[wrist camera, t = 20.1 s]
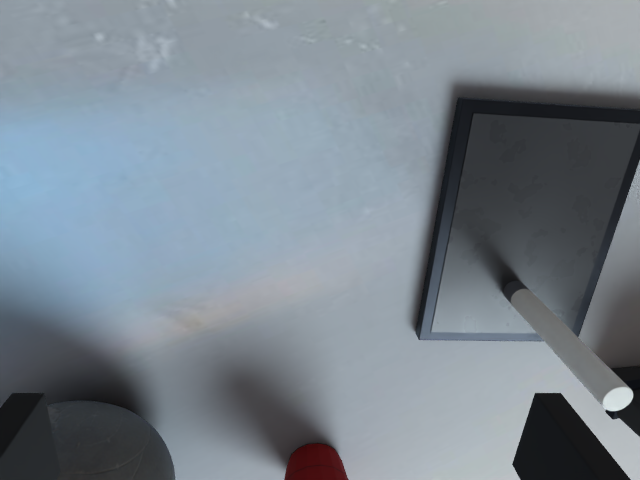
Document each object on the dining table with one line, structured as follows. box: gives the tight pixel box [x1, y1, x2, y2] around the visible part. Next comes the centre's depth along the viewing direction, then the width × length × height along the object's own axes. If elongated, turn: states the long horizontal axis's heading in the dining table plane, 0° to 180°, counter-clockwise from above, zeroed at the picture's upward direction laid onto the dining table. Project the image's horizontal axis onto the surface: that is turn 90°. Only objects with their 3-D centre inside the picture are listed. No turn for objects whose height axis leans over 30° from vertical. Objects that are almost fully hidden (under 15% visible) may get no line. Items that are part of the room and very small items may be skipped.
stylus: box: [503, 281, 633, 411], centre depth 35 cm, size 2×2×14 cm
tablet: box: [416, 97, 640, 341], centre depth 40 cm, size 22×16×1 cm
